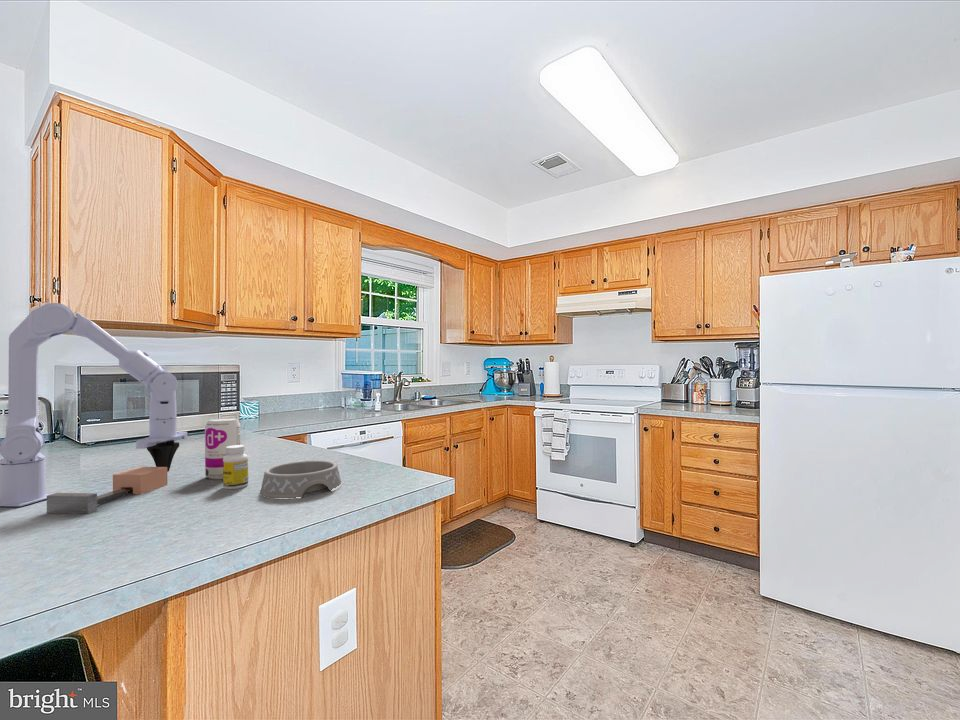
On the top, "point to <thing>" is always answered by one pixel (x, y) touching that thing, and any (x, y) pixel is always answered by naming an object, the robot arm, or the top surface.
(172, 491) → the top surface
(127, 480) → the block
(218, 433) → the supplement can
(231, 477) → the supplement bottle
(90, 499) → the rail
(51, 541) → the top surface
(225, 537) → the top surface
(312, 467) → the dog bowl
